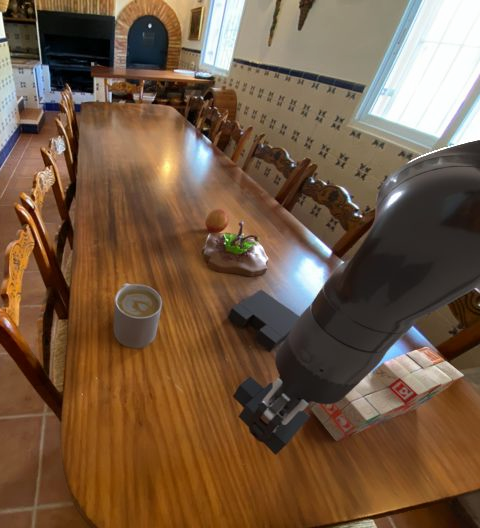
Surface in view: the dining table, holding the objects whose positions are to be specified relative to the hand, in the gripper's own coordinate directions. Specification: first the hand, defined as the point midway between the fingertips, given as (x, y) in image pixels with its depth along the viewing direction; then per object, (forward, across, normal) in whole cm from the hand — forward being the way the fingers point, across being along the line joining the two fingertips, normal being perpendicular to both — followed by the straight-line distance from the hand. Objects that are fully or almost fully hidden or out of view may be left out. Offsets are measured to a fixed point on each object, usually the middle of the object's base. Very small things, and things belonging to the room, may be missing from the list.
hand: (270, 420), depth 42 cm
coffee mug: (+13, +1, +32) cm, 35 cm away
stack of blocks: (+13, +26, -9) cm, 31 cm away
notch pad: (+13, +28, +15) cm, 34 cm away
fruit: (+13, +50, +50) cm, 72 cm away
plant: (+13, +44, +37) cm, 59 cm away
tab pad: (+1, 0, +1) cm, 1 cm away
